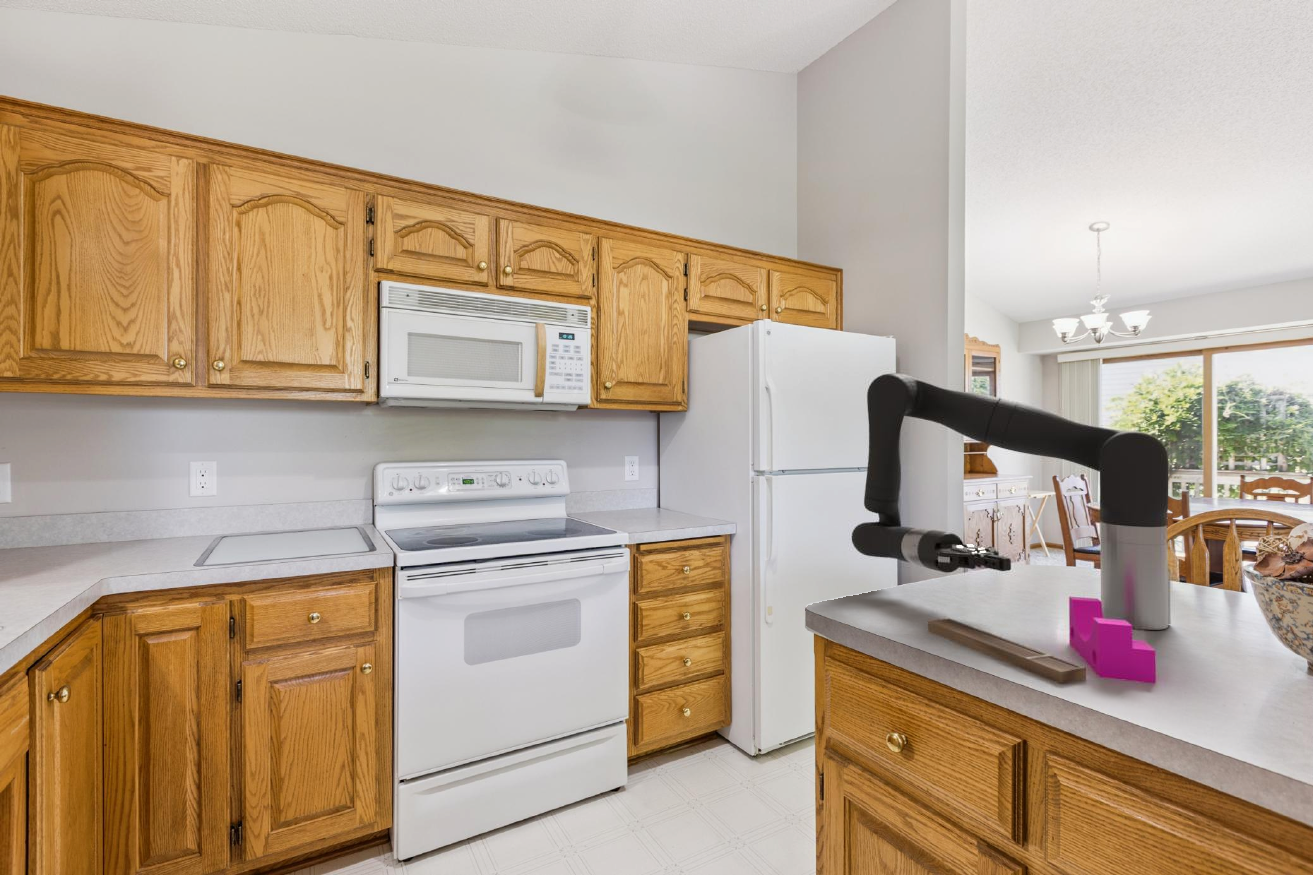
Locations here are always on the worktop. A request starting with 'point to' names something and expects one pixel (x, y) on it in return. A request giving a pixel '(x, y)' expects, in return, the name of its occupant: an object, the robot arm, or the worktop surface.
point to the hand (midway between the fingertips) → (1007, 564)
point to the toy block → (1109, 643)
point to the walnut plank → (1009, 651)
